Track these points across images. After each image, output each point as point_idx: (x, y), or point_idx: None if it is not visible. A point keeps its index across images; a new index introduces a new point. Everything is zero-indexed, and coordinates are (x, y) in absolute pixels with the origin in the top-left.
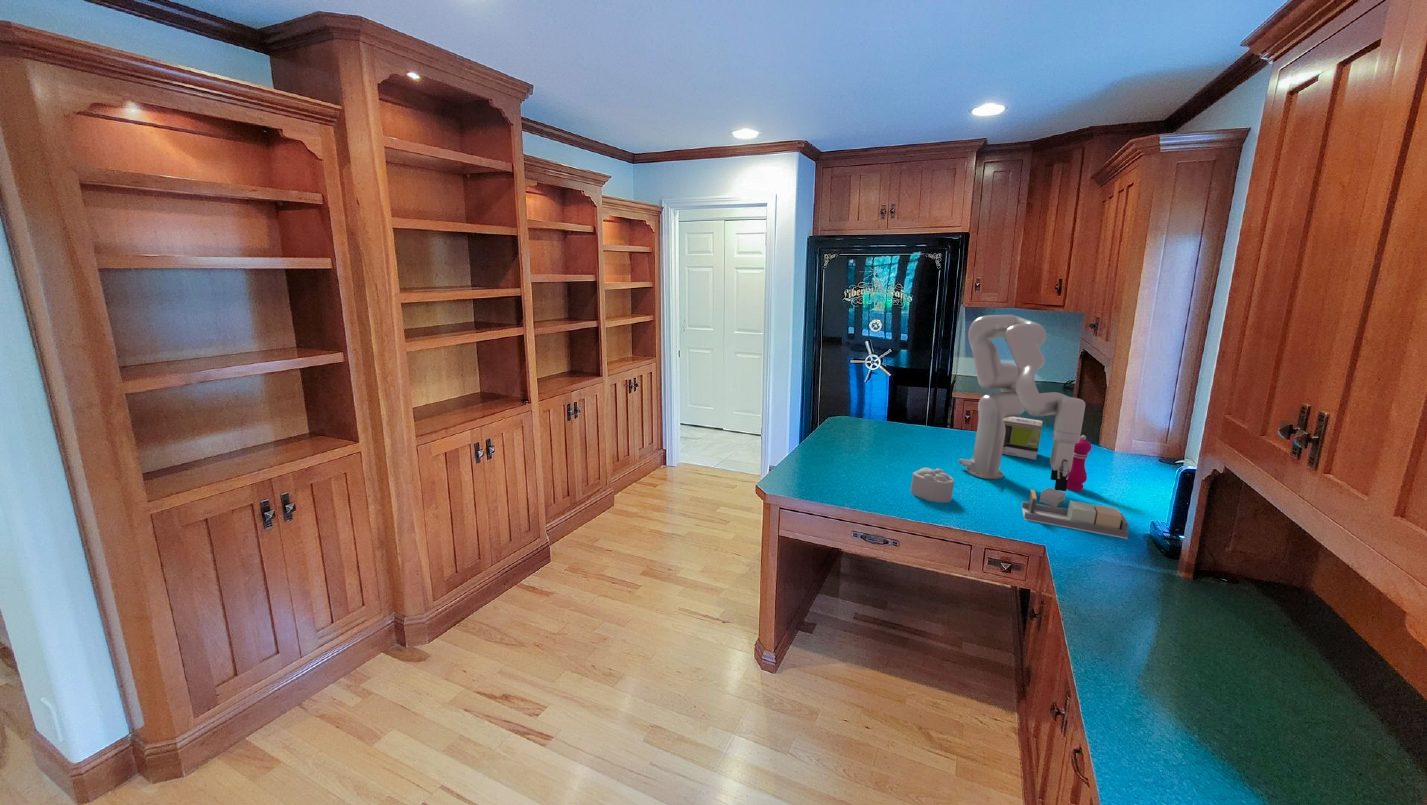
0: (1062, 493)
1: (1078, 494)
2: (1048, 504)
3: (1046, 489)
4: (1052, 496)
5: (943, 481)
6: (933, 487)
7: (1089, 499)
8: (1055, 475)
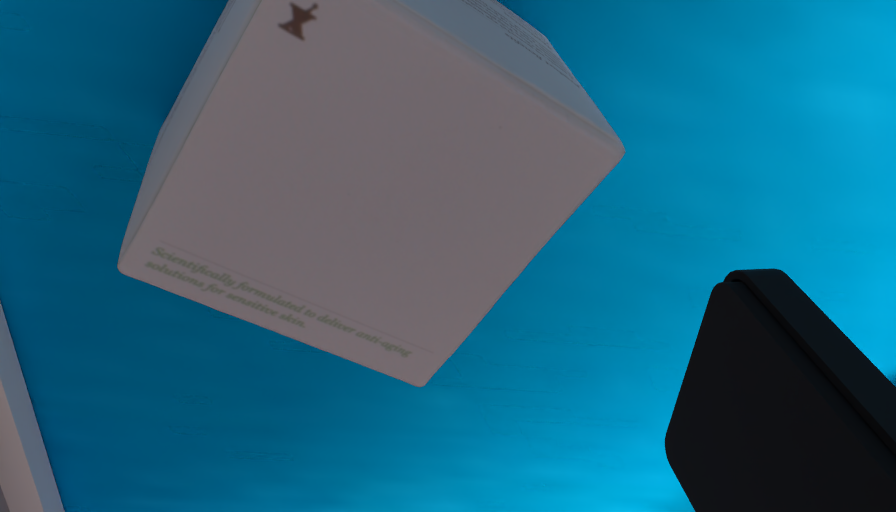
0: (376, 342)
1: None
2: (209, 38)
3: (461, 82)
4: (165, 155)
5: None
6: None
7: None
8: (765, 441)
